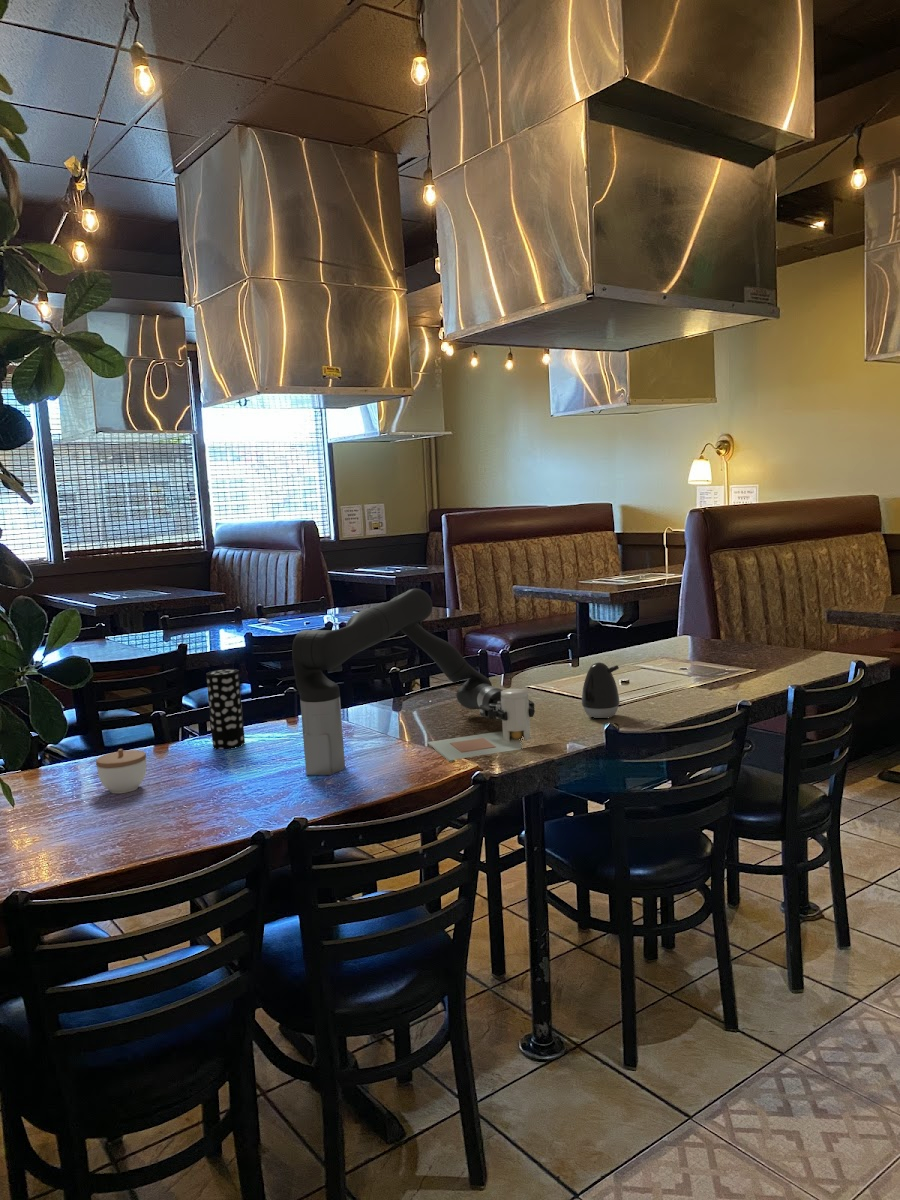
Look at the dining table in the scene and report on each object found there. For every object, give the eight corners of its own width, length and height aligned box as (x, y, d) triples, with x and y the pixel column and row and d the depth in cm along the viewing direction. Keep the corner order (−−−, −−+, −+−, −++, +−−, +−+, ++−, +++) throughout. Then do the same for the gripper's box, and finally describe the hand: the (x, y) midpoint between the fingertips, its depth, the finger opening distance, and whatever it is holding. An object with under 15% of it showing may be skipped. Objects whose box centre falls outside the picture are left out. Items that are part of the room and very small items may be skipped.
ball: (521, 740, 219) (521, 728, 218) (510, 740, 219) (509, 728, 219) (523, 737, 222) (522, 725, 221) (511, 737, 222) (511, 725, 222)
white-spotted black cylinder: (250, 741, 236) (244, 668, 234) (235, 750, 228) (228, 675, 226) (223, 741, 238) (216, 669, 236) (207, 749, 230) (200, 675, 228)
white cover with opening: (534, 740, 218) (532, 692, 217) (509, 743, 216) (506, 695, 215) (523, 733, 225) (521, 687, 223) (499, 737, 223) (496, 690, 221)
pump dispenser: (618, 722, 233) (615, 666, 231) (579, 721, 236) (576, 666, 235) (623, 712, 242) (621, 659, 241) (586, 712, 246) (583, 659, 244)
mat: (535, 728, 232) (535, 725, 232) (564, 744, 215) (564, 741, 215) (427, 743, 222) (427, 741, 222) (449, 762, 205) (449, 759, 205)
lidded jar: (91, 791, 200) (87, 751, 199) (136, 779, 207) (132, 740, 206) (111, 800, 192) (107, 759, 191) (157, 787, 200) (153, 747, 199)
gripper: (468, 691, 231) (491, 703, 215) (518, 685, 235) (544, 696, 219) (470, 719, 231) (493, 733, 216) (520, 712, 236) (546, 725, 220)
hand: (519, 714), depth 218 cm, fingers closed on white cover with opening, 6 cm apart
